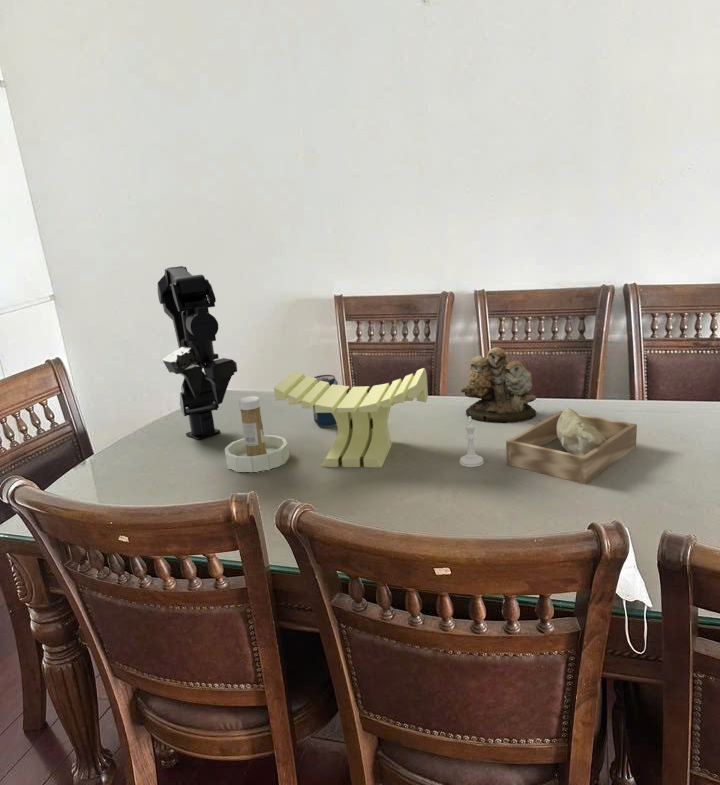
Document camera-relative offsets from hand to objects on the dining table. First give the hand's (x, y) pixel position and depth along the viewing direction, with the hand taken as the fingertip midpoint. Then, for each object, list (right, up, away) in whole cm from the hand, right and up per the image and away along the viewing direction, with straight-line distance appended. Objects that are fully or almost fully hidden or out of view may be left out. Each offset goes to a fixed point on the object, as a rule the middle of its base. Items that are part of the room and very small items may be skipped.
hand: (208, 400), depth 152 cm
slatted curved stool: (+34, -12, -3) cm, 36 cm away
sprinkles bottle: (+12, -13, -3) cm, 17 cm away
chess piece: (+58, -13, -14) cm, 61 cm away
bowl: (+12, -13, -3) cm, 18 cm away
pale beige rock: (+81, -11, -16) cm, 83 cm away
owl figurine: (+69, -4, +13) cm, 70 cm away
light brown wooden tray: (+78, -11, -15) cm, 80 cm away
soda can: (+26, -6, +18) cm, 33 cm away
